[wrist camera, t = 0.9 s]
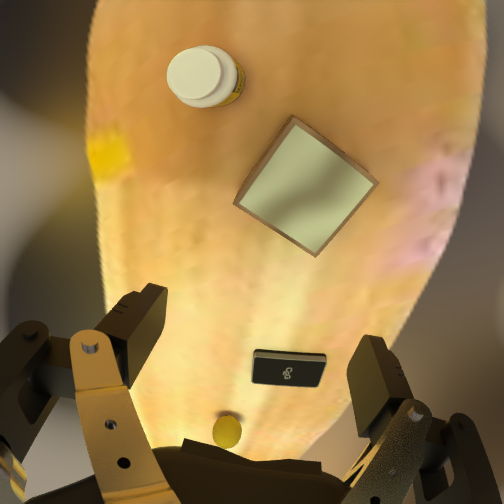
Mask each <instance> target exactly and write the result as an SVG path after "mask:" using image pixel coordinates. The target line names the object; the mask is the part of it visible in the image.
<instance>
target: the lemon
mask: <svg viewBox="0 0 504 504" xmlns="http://www.w3.org/2000/svg"><path fill="white" fill-rule="evenodd" d="M241 432H242V428H241V424H240V423H239V421H238V420H237V419H236V418H234V417H232V416H231V415H228V416H223V417H221V418H219V419H218V420H217V421H216V422H215V424H214V427H213V439H214V442H215V443H216V444H217V445H218V446H220V447H222V448H223V449H227V448H231V447H234V446H235V445H236V444H237V443H238V442H239V440H240V437H241Z"/></svg>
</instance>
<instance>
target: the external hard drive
mask: <svg viewBox="0 0 504 504" xmlns="http://www.w3.org/2000/svg"><path fill="white" fill-rule="evenodd" d="M326 365H327V360H326V355H325V354H317V353H299V352H285V351H272V350H261V349H257V350H255V351H254V357H253V367H252V378H251V382H252V383H254V384H263V385H275V386H290V387H311V388H316V387H318V386H319V384H320V381H321V379H322V376H323V373H324V370H325V367H326Z"/></svg>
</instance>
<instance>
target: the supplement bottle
mask: <svg viewBox="0 0 504 504" xmlns="http://www.w3.org/2000/svg"><path fill="white" fill-rule="evenodd" d="M167 82H168V85H169V87H170V89H171V90H172V91H173V92H174V93H175V95H176V96H177V97H178V99H180V100H181V101H182V102H183V103H185V104H187V105H189V106H192V107H198V108H207V107H216V106H224V105H227V104H229V103H231V102H233V101H234V100H236V99H237V98H238V97H239V96H240V94H241V93H242V91H243V89H244V86H245V74H244V71H243V69H242V67H241V66H240V65H239V64H238V63H237V62H236V61H235V60H234V59H233V58H232V57H231V56H230V55H229V54H228V53H226V52H225V51H224V50H222V49H220V48H217V47H214V46H208V45H203V46H197V47H194V48H190V49H186V50H184V51H182V52H180V53H179V54H177V55H176V56H175V57H174V58H173V59H172V61H171V62H170V64H169V66H168V69H167Z"/></svg>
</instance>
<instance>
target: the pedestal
mask: <svg viewBox="0 0 504 504" xmlns="http://www.w3.org/2000/svg"><path fill="white" fill-rule="evenodd" d="M378 184H379V182H378V181H377V180H376V179H375V178H374V177H373V176H372V175H371V174H370V173H369V172H368V171H366V170H365V169H364V168H363V167H362V166H360V165H359V164H358V163H357V162H355V161H354V160H353V159H352V158H350V157H349V156H348V155H347V154H345V153H344V152H343V151H342V150H340V149H339V148H338V147H336V146H335V145H334V144H332V143H331V142H330V141H328V140H327V139H326V138H324V137H323V136H322V135H320V134H319V133H318V132H316V131H315V130H314V129H312V128H311V127H309V126H308V125H307V124H305V123H304V122H302V121H301V120H299V119H298V118H296V117H295V116H294V115H291V117H290V118H289V120H288V121H287V122H286V124H285V125H284V126H283V128H282V129H281V131H280V132H279V133H278V135H277V136H276V138H275V139H274V140H273V142H272V143H271V145H270V146H269V147H268V149H267V150H266V152H265V153H264V154H263V156H262V157H261V159H260V160H259V162H258V163H257V164H256V166H255V167H254V169H253V170H252V172H251V173H250V175H249V176H248V177H247V179H246V180H245V182H244V183H243V185H242V186H241V188H240V189H239V191H238V192H237V195H236V197H235V199H234V201H233V205H235V206H237V207H238V208H240V209H241V210H243V211H244V212H246V213H248V214H249V215H251V216H252V217H254V218H255V219H257V220H259V221H260V222H262V223H263V224H265V225H266V226H268V227H269V228H271V229H272V230H274V231H276V232H277V233H279V234H280V235H282V236H283V237H285V238H286V239H288V240H289V241H291V242H292V243H294V244H295V245H297V246H298V247H300V248H302V249H303V250H305V251H306V252H308V253H309V254H311V255H312V256H314V257H315V258H316V257H317V256H318V255H319V254H320V252H321V251H322V250H323V249H324V248H325V247H326V246H327V244H328V243H329V242H330V241H331V240H332V239H333V238H334V236H335V235H336V234H337V233H338V232H339V231H340V229H341V228H342V227H343V226H344V225H345V224H346V222H347V221H348V220H349V219H350V218H351V216H352V215H353V214H354V213H355V212H356V211H357V209H358V208H359V207H360V206H361V205H362V203H363V202H364V201H365V200H366V199H367V197H368V196H369V195H370V194H371V193H372V191H373V190H374V189H375V188H376V186H377V185H378Z"/></svg>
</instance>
